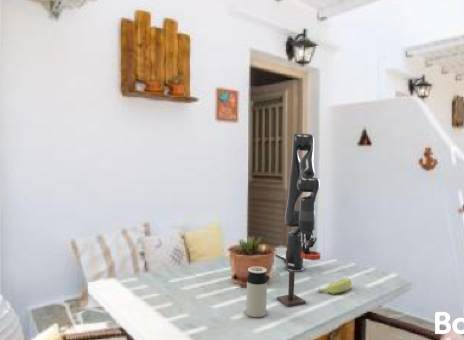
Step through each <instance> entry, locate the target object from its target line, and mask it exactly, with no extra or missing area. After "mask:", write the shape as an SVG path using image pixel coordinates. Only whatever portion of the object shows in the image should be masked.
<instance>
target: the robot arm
mask: <svg viewBox="0 0 464 340" xmlns="http://www.w3.org/2000/svg"><path fill="white" fill-rule="evenodd" d="M291 143H292V144H291V148H292V149H291V163H290V164H291V165H290V172H289V180H288V181H289V182H288V195H287V201H286V207H285V213H284V223H285V225H286V227H289V228H292V227H293V228H294V227H295V228H294V229H293V230H291V231H289V232H288V233H287V234H286V235H287V236H286V251H285V257H283V256H281V255H278V254H276V256H275V257H277V258H279V259H281V260H283V261H284V263H285V269H286V270H287V271H288V272H289V271H294V272H295V273H296V272H297V273H298V272H302V271H304V258H301V252H302V251H305V254H307V255H309V251H310V250H311V249H312V248H314V245H315V243H316V242H317V237H315V236H314V230H315V228H316V200H317V195H318V193H319V190H320V186H321V181H320V179H319V178H318V177H314V176H315V165H314V158H315V157H314V156H315V137H314V135H313V134H312V133H303V132H295V133H294V134H293V136H292V142H291ZM299 151H300V152H306V153H305V155H303V156H302V158H301V159H300V156H299ZM304 193H310V194H309V195H307V196H303V197H301V196H302V195H303V194H304ZM299 199H300V201H299V209H296V205H297V202H298V200H299Z"/></svg>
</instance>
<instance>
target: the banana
mask: <svg viewBox="0 0 464 340" xmlns="http://www.w3.org/2000/svg"><path fill="white" fill-rule="evenodd" d="M352 287H353V283H352V279H351V278H350V277H346V276H345V277H343V278H341V279H340V280H338V281H334V282H331V283H330V284H328V285H327V286H326V287H325V288H318V293H323V292H327V293H329V294H332V295H337V294H341V293H343V292H346V291H349V289H351V288H352Z"/></svg>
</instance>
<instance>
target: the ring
mask: <svg viewBox="0 0 464 340" xmlns="http://www.w3.org/2000/svg"><path fill="white" fill-rule="evenodd" d="M321 255H322V253H321V252H319V251H316V250H309V255H307V254H305V251H302V252H301V258H303V260H308V261H318V260H321V257H322V256H321Z"/></svg>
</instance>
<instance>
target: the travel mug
mask: <svg viewBox="0 0 464 340" xmlns="http://www.w3.org/2000/svg"><path fill="white" fill-rule="evenodd" d="M247 271H248V274H247V276H246V302H245V303H246V304H245V305H246V306H245V308H246V309H245V313H246V315H247V316H249V317H251V318H263V317H264V316H266V315H267V299H268V298H267V297H268V295H267V294H268V276H267V271H268V269H267V268H265V267H263V266H250V267H248V268H247Z"/></svg>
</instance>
